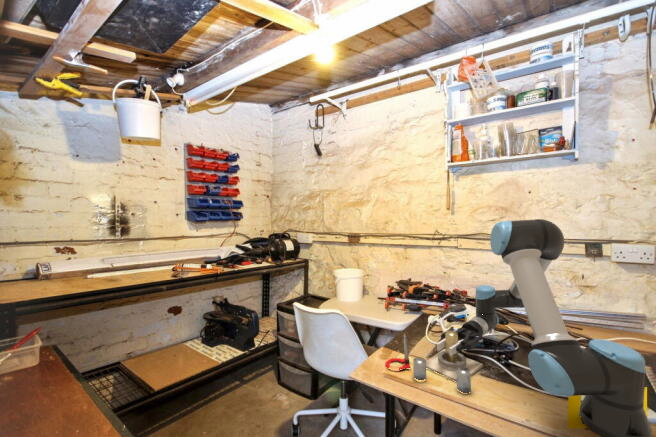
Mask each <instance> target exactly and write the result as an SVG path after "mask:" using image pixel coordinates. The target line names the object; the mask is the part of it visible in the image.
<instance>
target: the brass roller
mask: <svg viewBox="0 0 656 437" xmlns="http://www.w3.org/2000/svg"><path fill="white" fill-rule="evenodd" d="M444 332H445V338H446V347H445V349H446V361H447V362H451V363H458V353H459V352H456V353H455V354H453V355H452V356H450V355H449V348H450V347H452V346H453V345H455V344H456V343H458V342H459V340H458V333H457V332H455V331H447V330H446V331H444Z"/></svg>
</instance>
